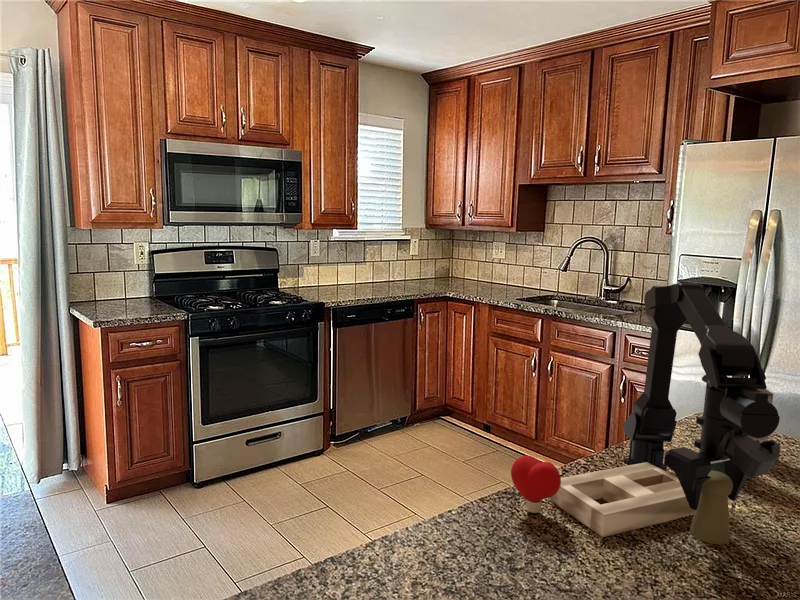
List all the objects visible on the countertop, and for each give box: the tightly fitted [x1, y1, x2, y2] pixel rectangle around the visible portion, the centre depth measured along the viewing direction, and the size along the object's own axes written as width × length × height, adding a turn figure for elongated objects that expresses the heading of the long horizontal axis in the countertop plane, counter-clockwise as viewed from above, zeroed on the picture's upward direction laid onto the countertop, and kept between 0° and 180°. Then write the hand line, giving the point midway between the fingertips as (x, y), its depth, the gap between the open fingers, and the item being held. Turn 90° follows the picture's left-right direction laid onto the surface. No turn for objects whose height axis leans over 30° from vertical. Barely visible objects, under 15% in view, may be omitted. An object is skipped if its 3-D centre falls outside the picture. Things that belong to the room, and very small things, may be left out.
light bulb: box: [510, 455, 562, 515], centre depth 106 cm, size 9×7×10 cm
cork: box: [689, 470, 733, 546], centre depth 101 cm, size 6×6×11 cm
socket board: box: [549, 462, 695, 538], centre depth 110 cm, size 14×24×4 cm, turn 114°
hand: (712, 504), depth 101 cm, fingers open, 9 cm apart
